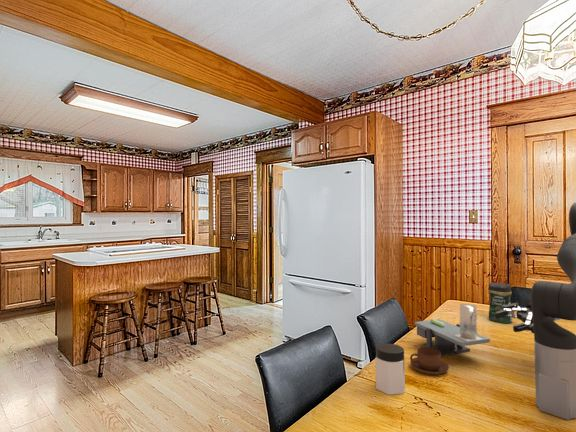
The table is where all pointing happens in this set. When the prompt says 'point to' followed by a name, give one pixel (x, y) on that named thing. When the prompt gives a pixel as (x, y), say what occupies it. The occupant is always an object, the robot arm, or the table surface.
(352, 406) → the table surface
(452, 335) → the platform
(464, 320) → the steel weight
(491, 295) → the coffee jar
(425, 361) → the cup and saucer
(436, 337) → the pivot stand
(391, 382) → the jar
